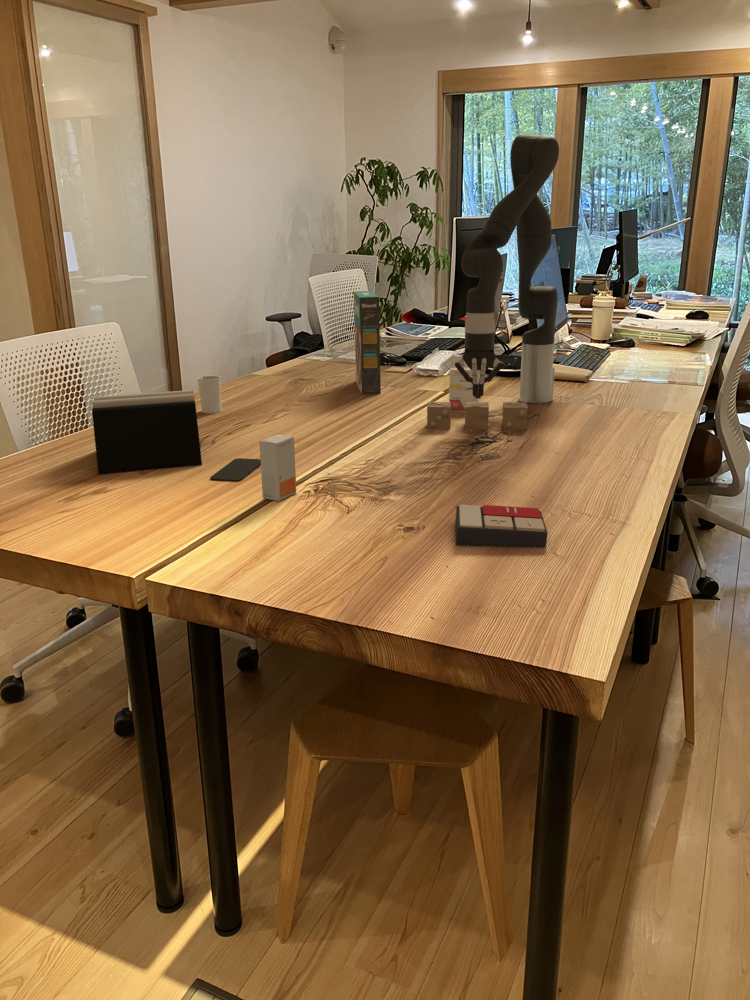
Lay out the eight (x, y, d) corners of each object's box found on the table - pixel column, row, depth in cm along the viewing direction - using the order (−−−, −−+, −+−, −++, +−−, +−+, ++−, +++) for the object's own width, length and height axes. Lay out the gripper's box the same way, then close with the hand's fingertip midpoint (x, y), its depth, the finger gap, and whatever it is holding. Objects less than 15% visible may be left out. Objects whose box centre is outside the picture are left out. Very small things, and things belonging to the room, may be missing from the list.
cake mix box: (355, 381, 268) (353, 291, 258) (373, 380, 269) (371, 290, 259) (361, 394, 248) (359, 297, 238) (380, 393, 249) (379, 296, 238)
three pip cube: (428, 423, 211) (428, 401, 209) (450, 423, 210) (450, 401, 208) (427, 429, 205) (427, 406, 203) (450, 429, 205) (450, 406, 203)
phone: (207, 478, 168) (235, 457, 181) (208, 482, 168) (235, 461, 182) (240, 480, 166) (265, 459, 180) (240, 484, 166) (265, 463, 180)
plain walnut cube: (465, 423, 210) (465, 402, 208) (487, 424, 209) (488, 402, 207) (464, 429, 204) (465, 407, 202) (488, 429, 204) (488, 407, 202)
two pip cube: (502, 424, 209) (503, 401, 207) (525, 424, 208) (526, 401, 206) (503, 430, 203) (504, 406, 201) (526, 430, 202) (527, 407, 200)
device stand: (202, 466, 178) (195, 401, 173) (98, 475, 173) (89, 409, 168) (197, 441, 199) (191, 383, 194) (104, 449, 194) (96, 389, 189)
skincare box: (279, 502, 154) (275, 443, 150) (262, 498, 156) (258, 440, 152) (297, 493, 159) (294, 436, 154) (281, 489, 161) (277, 433, 157)
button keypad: (548, 529, 129) (457, 523, 130) (545, 553, 130) (455, 547, 132) (541, 506, 139) (456, 501, 140) (538, 528, 141) (455, 523, 142)
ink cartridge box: (448, 409, 226) (449, 358, 221) (449, 405, 231) (449, 355, 226) (478, 409, 225) (480, 358, 220) (478, 405, 230) (479, 355, 225)
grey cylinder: (220, 413, 226) (217, 379, 223) (198, 414, 227) (194, 379, 223) (225, 408, 233) (222, 375, 229) (203, 408, 233) (200, 375, 229)
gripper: (453, 332, 195) (452, 400, 201) (506, 332, 194) (504, 401, 200) (453, 328, 202) (452, 394, 208) (505, 328, 201) (502, 395, 207)
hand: (477, 397), depth 204 cm, fingers closed
